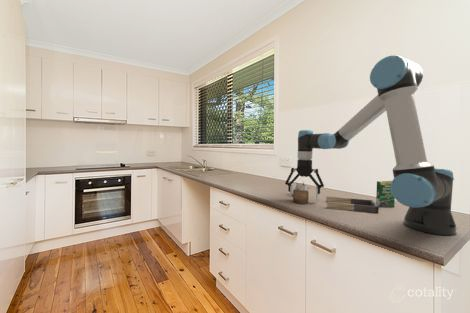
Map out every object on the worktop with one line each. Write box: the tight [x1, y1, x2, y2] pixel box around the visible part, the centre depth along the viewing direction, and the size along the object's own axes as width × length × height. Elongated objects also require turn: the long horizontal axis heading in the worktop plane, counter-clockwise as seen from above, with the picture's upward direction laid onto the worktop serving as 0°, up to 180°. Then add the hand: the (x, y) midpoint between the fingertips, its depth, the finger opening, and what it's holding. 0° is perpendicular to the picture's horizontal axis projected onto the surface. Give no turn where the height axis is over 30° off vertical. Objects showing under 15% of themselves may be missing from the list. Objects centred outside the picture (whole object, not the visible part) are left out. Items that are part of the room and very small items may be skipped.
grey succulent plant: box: [294, 182, 310, 191], centre depth 136 cm, size 9×8×10 cm
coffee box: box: [375, 180, 396, 208], centre depth 113 cm, size 8×3×13 cm, turn 90°
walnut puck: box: [292, 189, 310, 205], centre depth 121 cm, size 8×8×6 cm
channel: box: [325, 195, 380, 214], centre depth 112 cm, size 13×22×3 cm, turn 69°
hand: (303, 198), depth 120 cm, fingers open, 12 cm apart
